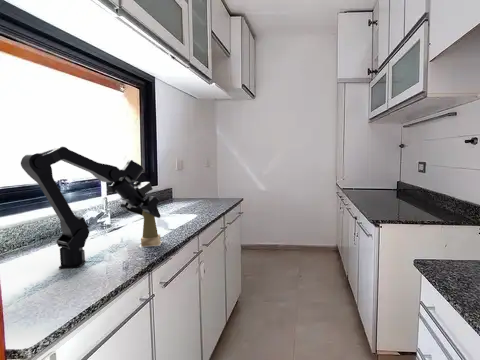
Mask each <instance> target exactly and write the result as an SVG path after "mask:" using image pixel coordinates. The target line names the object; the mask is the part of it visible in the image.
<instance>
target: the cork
mask: <svg viewBox="0 0 480 360" xmlns="http://www.w3.org/2000/svg"><path fill="white" fill-rule="evenodd" d="M142 215H143V216H142ZM142 215H141V216H142V217H143V225H142V226H143V227H142V237H143V238H154V237H157V236H158V234H159V233H158V228H157V227H158V226H157V223H156V217H155V216H152V215H150V214H147V213H145V211H143V212H142Z"/></svg>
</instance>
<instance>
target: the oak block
mask: <svg viewBox="0 0 480 360" xmlns="http://www.w3.org/2000/svg"><path fill="white" fill-rule="evenodd" d="M161 241H162V240H161V233H160V234H159V233H158V236H157V237H154V238H143V236H142V237H141V238H140V245H141V246H147V247H155V246H154V245H159V243H160V242H161Z"/></svg>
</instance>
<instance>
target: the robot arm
mask: <svg viewBox="0 0 480 360" xmlns="http://www.w3.org/2000/svg"><path fill="white" fill-rule="evenodd" d="M60 161H62V162H65V163H67V164H70V165H72V166H74V167H77V168H79V169H81V170H83V171H85V172H88V173H90V174H91V175H93V177H94V178H96V179H98V180H99V181H101V182H103V183H111V185H110V184H108V185H107V193H110V194H111V193H113V194H115V192H116V193H117V194H118V195H119V196H120V197H121V198H120V200H121V202H120V203H119V206H120V207H119V208H121V209H122V210H123V211H126V212H129V213H133V214H136V215H138V216H141V217H143V215H142V212H143V211H145V213H147V214H150V215H152V216H155V218H158V219H160V218H161V213H160V211H159V209H158V204H159V202H160V198H158V197H157V196H153V195H152V196H147V193H150V192H151V191H153V187H152V184H151V182H150V181H143V182H142V181H141V182H139V181H137V180H138V178H139V177H140V176H141V174H142V173H143V172H144V170H145V169H144V167H143V165H141V164H139V163H138V162H136V161H135V160H133V159H129V160H127V162H126V164H125V165H124V166H123V168H122V169H120V168H119V167H118V166H114V165H111V164H107V163H101V162H97V161H95V160H94V159H90V158H88V157H86V156H84V155H83V154H79V153H77V152H75V151H73V150H71V149H68V148H67V146H56V147H54V148H52V149H48V150H45V151H43V152H40V153H39V152H38V153H28V154H24V156H22V158H21V161H20V166H21V169H22V170H23V171H24V172H25V173H26V174H27V175H28V176H29V177H30V178H31V179H32V180H34V181H35V182H36V183H37V184H38V186H39V188H40V190H41V192H42V193H43V194H44V196H45V197H46V199H47V201H48V202H49V204H50V206H51V207H52V209H53V211H54V213H55V215H56V216H57V218H58V220H59V221H60V222H59V223H60V229H61V232H62V234H60V236H59V237H58V238H57V240H56V245H57V246H58V247H59V256H60V257H59V258H60V265H59V266H58V269H69V268H72V269H73V268H80V267H81V266H82V265H84V264H85V263H86V256H85V255H86V254H85V253H86V252H85V249H84V248H85V245H86V242H87V239H88V237H89V235H90V229H89V228H90V226H89V225H88V224H87V221H86V218H85V217H83V216H78V215H75V214H74V211H73V209H72V208H71V207H70V205H69V203H68V201H67V199H66V198H65V196H64V195H63V193H62V191H61V189H60V187H59V186H58V184H57V183H56V181H55V179H54V175H53V168H52V165H54V164H57V163H58V162H60ZM132 183H133V185H132ZM146 197H147V198H146Z"/></svg>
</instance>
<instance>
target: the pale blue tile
mask: <svg viewBox="0 0 480 360" xmlns="http://www.w3.org/2000/svg"><path fill="white" fill-rule="evenodd" d="M162 243H163V240H161V242H160V243H159V245H154V246H153V247H161V244H162ZM138 247H139V248H143V247H148V246H141V244H139V246H138Z"/></svg>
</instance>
